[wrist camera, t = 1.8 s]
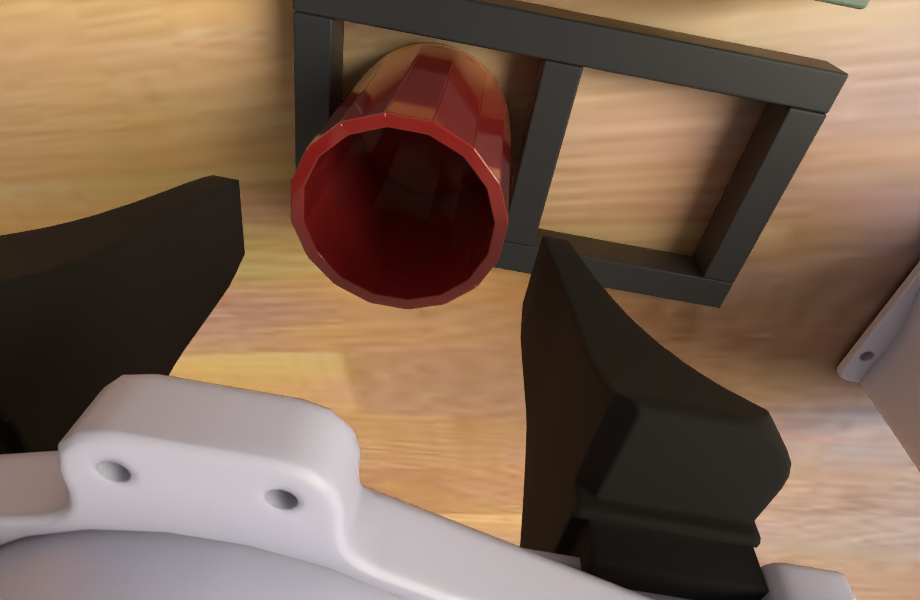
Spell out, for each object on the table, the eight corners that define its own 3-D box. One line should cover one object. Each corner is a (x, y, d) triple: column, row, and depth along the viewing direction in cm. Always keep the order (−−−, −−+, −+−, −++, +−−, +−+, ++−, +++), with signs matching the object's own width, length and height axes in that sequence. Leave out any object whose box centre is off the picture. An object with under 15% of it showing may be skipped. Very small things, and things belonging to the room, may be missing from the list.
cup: (492, 208, 22) (483, 323, 16) (351, 182, 22) (292, 289, 16) (525, 59, 18) (528, 139, 13) (358, 27, 18) (287, 93, 13)
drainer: (709, 286, 23) (719, 308, 22) (307, 212, 23) (295, 231, 21) (828, 61, 18) (850, 74, 17) (307, -41, 17) (291, -35, 16)
